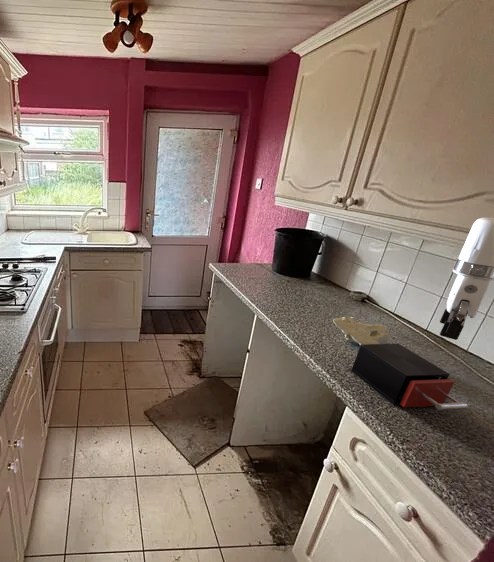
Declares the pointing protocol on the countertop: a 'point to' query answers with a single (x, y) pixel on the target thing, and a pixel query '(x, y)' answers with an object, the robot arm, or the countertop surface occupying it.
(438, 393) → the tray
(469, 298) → the robot arm
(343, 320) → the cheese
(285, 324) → the countertop surface
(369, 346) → the black drawer housing
